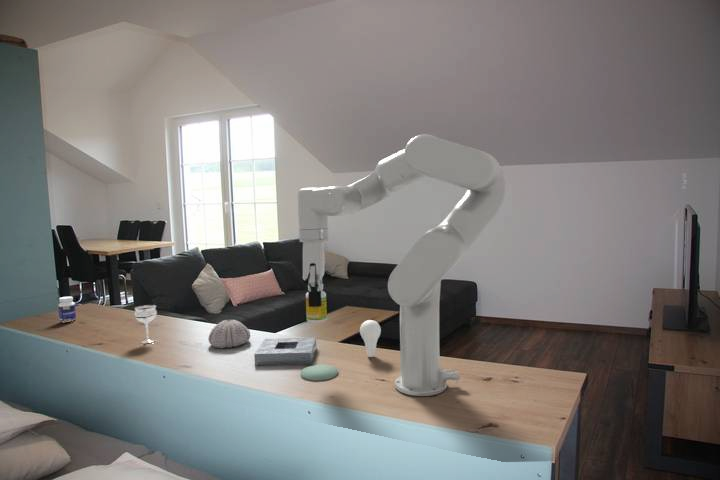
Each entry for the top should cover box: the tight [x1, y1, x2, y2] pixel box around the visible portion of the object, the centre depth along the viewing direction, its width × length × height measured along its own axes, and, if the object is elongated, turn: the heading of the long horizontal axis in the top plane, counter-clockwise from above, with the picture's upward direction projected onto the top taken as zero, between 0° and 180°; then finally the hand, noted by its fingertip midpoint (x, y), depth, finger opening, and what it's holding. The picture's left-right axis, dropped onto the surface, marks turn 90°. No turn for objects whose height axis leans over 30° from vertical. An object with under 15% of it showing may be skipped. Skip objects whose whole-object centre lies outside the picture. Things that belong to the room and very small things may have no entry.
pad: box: [300, 364, 339, 382], centre depth 129 cm, size 10×10×1 cm
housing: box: [253, 337, 317, 367], centre depth 143 cm, size 16×14×4 cm
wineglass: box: [134, 304, 158, 343], centre depth 161 cm, size 7×7×12 cm
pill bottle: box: [58, 295, 77, 322], centre depth 192 cm, size 6×6×10 cm
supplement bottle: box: [305, 282, 328, 323], centre depth 127 cm, size 5×5×10 cm
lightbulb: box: [359, 319, 382, 358], centre depth 140 cm, size 6×6×11 cm
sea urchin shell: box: [207, 319, 251, 349], centre depth 157 cm, size 13×14×8 cm
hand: (316, 302), depth 127 cm, fingers closed on supplement bottle, 5 cm apart
